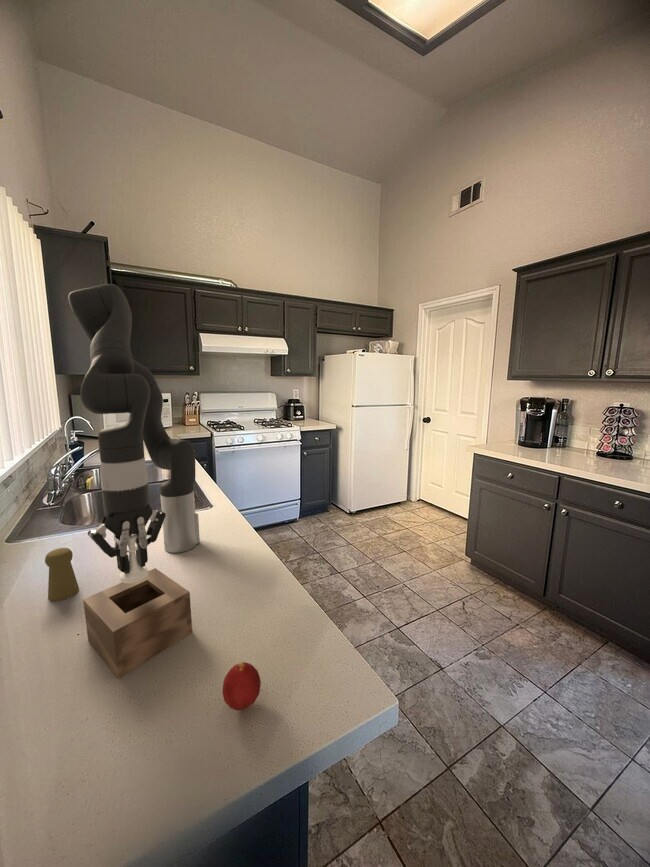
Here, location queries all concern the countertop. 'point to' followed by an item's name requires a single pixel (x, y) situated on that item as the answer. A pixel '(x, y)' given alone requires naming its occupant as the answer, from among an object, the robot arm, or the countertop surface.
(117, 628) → the drop box
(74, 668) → the countertop surface
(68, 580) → the cork
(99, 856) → the countertop surface
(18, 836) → the countertop surface
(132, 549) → the chess piece
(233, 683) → the red oval fruit
